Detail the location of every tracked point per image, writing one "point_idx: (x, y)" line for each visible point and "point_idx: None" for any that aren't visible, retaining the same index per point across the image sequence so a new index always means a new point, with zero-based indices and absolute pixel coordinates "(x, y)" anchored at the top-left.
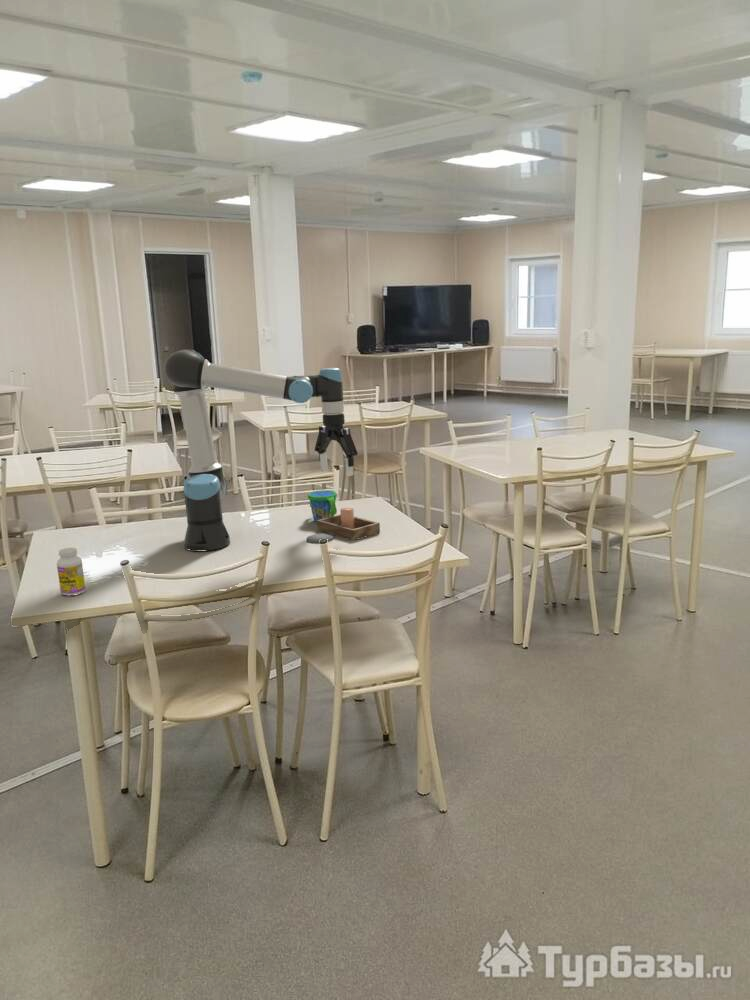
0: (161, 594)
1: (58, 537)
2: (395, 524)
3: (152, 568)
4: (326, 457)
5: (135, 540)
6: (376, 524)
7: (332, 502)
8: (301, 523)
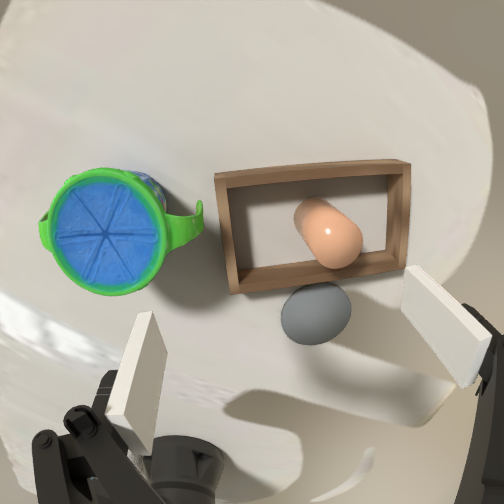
0: (338, 494)
1: None
2: (359, 63)
3: (244, 499)
4: (136, 389)
5: None
6: (409, 176)
7: (194, 228)
8: None
